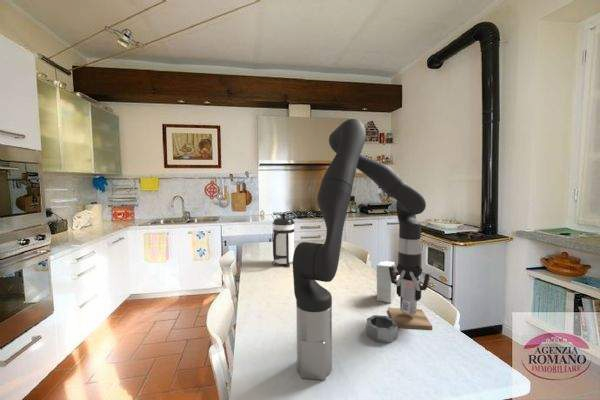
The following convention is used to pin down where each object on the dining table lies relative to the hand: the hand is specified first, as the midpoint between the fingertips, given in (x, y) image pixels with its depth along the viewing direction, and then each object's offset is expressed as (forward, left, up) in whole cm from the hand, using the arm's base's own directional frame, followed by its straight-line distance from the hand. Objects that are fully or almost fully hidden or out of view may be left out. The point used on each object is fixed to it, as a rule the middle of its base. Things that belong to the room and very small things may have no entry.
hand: (408, 297), depth 98 cm
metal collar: (-11, +11, -8) cm, 17 cm away
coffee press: (+58, +56, -8) cm, 81 cm away
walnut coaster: (0, 0, -8) cm, 8 cm away
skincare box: (+17, +5, -8) cm, 19 cm away
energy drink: (0, 0, -5) cm, 5 cm away
